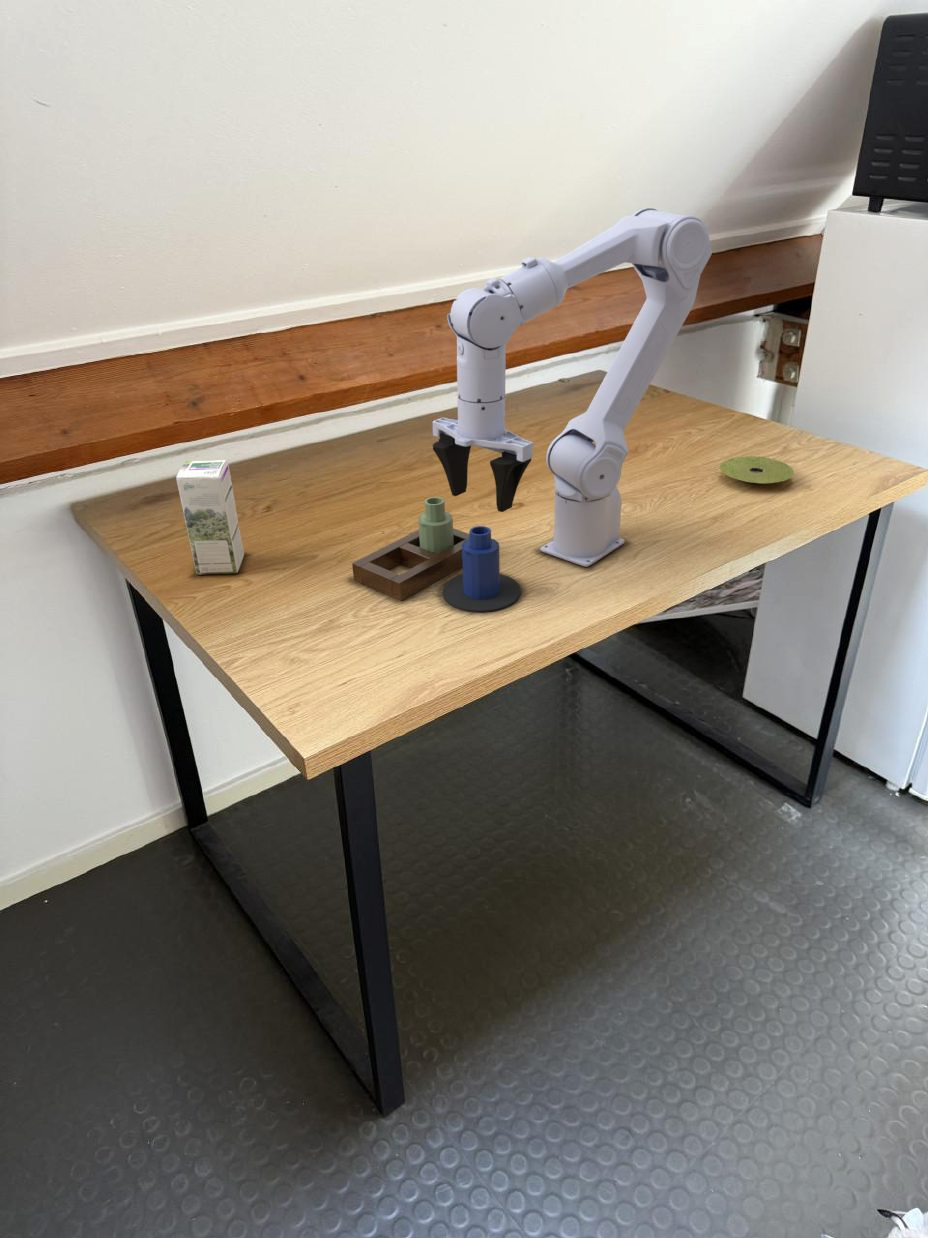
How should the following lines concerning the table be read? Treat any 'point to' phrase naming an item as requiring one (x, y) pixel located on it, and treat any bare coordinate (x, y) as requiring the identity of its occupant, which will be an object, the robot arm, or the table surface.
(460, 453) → the robot arm
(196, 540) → the syrup box
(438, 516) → the sage bottle
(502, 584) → the coaster
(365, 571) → the bottle rack
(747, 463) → the mat
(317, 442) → the table surface
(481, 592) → the blue bottle
